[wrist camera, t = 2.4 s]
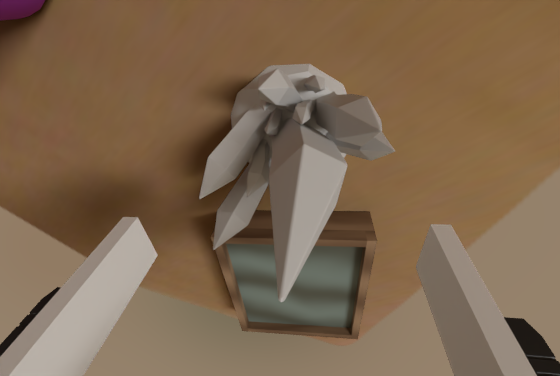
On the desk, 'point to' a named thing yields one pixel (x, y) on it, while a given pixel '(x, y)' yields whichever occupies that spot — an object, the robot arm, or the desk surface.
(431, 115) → the desk surface
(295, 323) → the wooden tray
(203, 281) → the desk surface
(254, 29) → the desk surface
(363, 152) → the crystal
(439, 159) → the desk surface
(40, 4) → the beverage can
